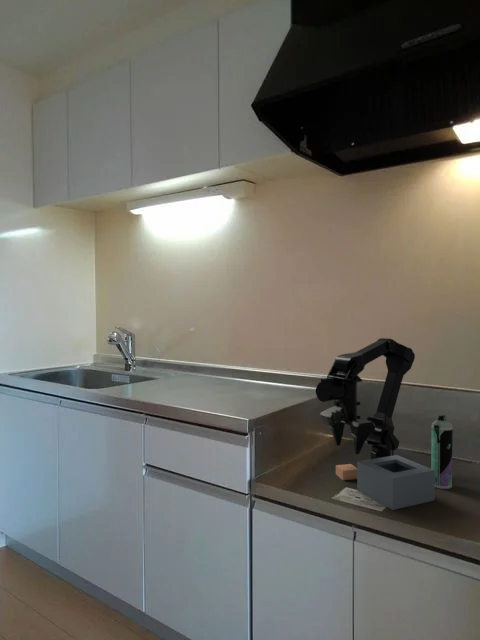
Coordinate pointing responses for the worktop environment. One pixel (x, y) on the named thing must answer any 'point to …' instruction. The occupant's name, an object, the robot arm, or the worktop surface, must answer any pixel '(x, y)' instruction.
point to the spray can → (442, 452)
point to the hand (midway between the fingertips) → (347, 449)
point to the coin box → (396, 481)
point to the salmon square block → (346, 471)
